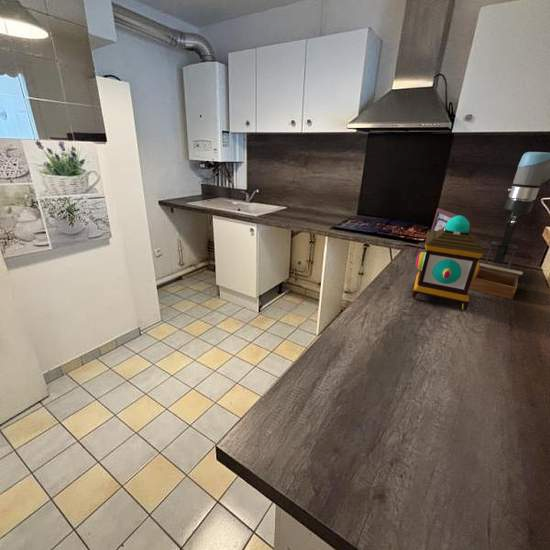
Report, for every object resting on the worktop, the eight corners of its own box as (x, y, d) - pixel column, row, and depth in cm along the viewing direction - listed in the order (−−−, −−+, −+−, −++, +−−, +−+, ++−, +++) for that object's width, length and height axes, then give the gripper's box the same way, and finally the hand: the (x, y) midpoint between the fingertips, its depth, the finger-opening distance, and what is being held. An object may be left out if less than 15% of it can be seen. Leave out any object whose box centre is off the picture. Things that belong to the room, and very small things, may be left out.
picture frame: (423, 257, 149) (435, 208, 139) (442, 258, 148) (456, 208, 138) (439, 269, 133) (453, 215, 123) (460, 270, 133) (477, 216, 123)
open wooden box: (512, 299, 107) (516, 288, 105) (463, 287, 116) (467, 276, 114) (513, 288, 117) (518, 277, 115) (469, 277, 126) (472, 267, 124)
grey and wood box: (522, 274, 103) (532, 247, 102) (471, 263, 112) (479, 238, 111) (518, 277, 115) (527, 252, 114) (472, 266, 124) (480, 244, 123)
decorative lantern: (406, 299, 105) (426, 216, 93) (411, 280, 121) (428, 207, 109) (471, 314, 97) (501, 225, 85) (467, 291, 113) (492, 214, 101)
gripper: (508, 196, 110) (488, 255, 119) (506, 200, 99) (484, 264, 108) (533, 199, 105) (510, 259, 115) (534, 203, 94) (509, 270, 104)
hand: (497, 262), depth 111 cm, fingers closed on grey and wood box, 2 cm apart
